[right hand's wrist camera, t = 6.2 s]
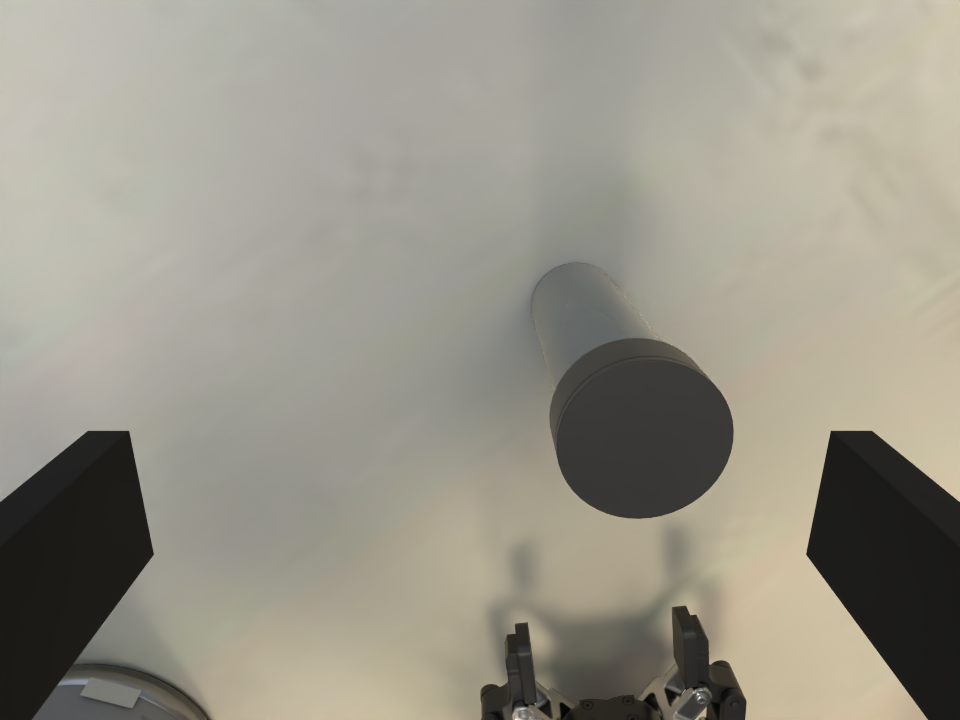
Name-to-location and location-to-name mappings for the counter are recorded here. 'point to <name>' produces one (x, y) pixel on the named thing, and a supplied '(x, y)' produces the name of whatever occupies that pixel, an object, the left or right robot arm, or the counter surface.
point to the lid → (639, 428)
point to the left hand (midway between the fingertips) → (602, 625)
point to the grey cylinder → (580, 316)
